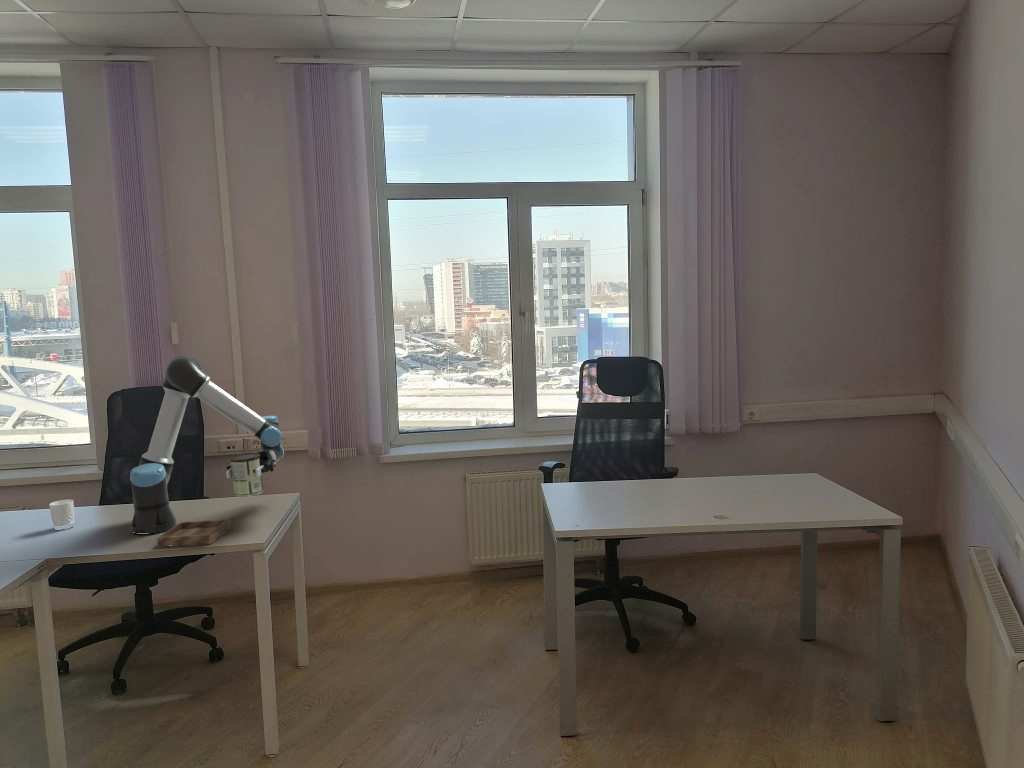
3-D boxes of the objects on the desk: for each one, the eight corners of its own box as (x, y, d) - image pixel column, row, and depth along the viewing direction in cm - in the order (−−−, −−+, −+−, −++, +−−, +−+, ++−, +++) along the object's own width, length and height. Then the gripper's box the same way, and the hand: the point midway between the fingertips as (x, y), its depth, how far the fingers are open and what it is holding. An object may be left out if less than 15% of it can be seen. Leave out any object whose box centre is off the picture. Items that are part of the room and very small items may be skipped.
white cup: (76, 528, 287) (73, 502, 285) (52, 532, 283) (49, 506, 281) (76, 523, 293) (73, 498, 292) (52, 527, 289) (49, 502, 288)
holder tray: (158, 547, 258) (157, 538, 258) (181, 530, 276) (180, 521, 276) (210, 544, 258) (209, 535, 257) (230, 527, 276) (229, 519, 275)
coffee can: (240, 490, 284) (237, 453, 283) (267, 489, 284) (264, 452, 282) (228, 497, 274) (225, 459, 272) (256, 496, 273) (252, 458, 272)
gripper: (292, 468, 296) (274, 482, 274) (235, 470, 296) (212, 485, 274) (291, 449, 295) (272, 462, 273) (233, 452, 296) (210, 465, 273)
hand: (242, 473), depth 274 cm, fingers closed on coffee can, 10 cm apart
